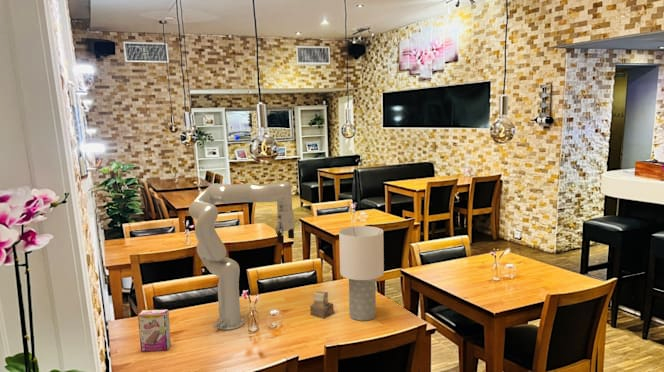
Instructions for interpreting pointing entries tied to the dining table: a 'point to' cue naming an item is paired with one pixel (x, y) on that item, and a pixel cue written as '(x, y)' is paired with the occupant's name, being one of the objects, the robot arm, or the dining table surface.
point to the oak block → (320, 298)
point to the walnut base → (322, 310)
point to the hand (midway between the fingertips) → (286, 240)
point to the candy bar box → (154, 330)
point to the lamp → (361, 267)
